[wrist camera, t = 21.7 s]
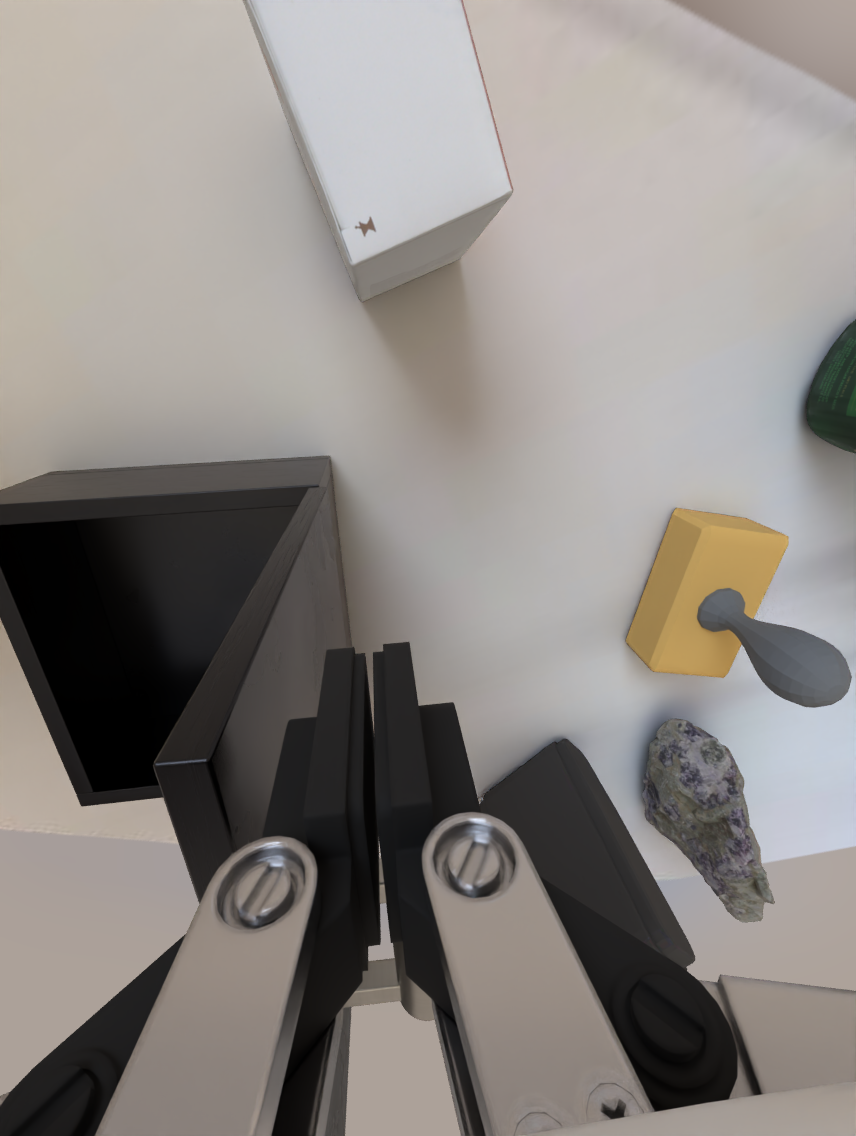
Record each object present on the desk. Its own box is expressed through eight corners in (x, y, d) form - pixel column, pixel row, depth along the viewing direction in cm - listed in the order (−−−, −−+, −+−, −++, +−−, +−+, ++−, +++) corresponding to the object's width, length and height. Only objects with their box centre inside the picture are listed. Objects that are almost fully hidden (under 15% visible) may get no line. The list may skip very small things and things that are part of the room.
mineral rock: (655, 697, 37) (748, 808, 28) (776, 710, 39) (900, 818, 30) (598, 821, 42) (663, 951, 33) (709, 828, 44) (799, 952, 35)
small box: (461, 260, 25) (520, 199, 15) (358, 305, 25) (352, 274, 15) (399, 59, 22) (424, -178, 12) (282, 113, 22) (214, -76, 12)
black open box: (135, 721, 33) (81, 806, 27) (50, 471, 27) (-49, 507, 20) (358, 699, 34) (355, 775, 28) (330, 455, 28) (319, 484, 22)
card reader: (501, 821, 41) (569, 1057, 27) (470, 798, 39) (524, 1034, 26) (590, 756, 39) (710, 973, 25) (559, 729, 38) (670, 943, 24)
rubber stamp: (695, 649, 36) (838, 778, 25) (622, 642, 35) (737, 773, 24) (751, 518, 32) (947, 603, 21) (671, 507, 31) (834, 588, 20)
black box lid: (310, 1236, 13) (471, 1213, 14) (149, 765, 7) (468, 737, 7) (348, 782, 28) (427, 775, 28) (308, 487, 21) (411, 481, 21)
